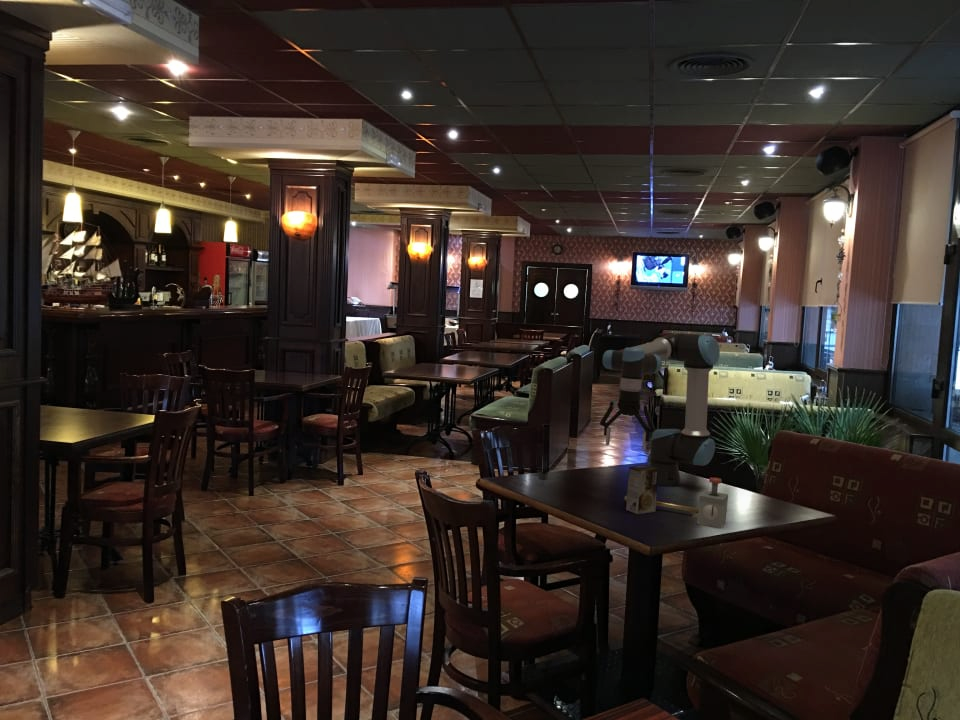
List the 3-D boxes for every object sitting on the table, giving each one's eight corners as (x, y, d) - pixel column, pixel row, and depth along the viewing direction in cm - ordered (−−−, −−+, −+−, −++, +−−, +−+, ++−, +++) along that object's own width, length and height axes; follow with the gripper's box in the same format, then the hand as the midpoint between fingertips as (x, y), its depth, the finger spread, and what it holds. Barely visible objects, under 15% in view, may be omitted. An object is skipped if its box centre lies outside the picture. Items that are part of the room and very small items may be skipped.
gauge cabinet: (702, 517, 271) (705, 490, 270) (725, 521, 268) (728, 494, 267) (696, 524, 262) (699, 496, 261) (720, 528, 258) (723, 500, 257)
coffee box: (643, 507, 280) (646, 464, 279) (655, 512, 275) (659, 468, 274) (625, 509, 275) (628, 466, 274) (637, 514, 270) (641, 469, 269)
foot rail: (623, 504, 283) (623, 495, 283) (624, 502, 286) (625, 494, 285) (705, 518, 270) (705, 509, 270) (706, 517, 272) (707, 508, 272)
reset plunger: (709, 491, 267) (710, 476, 266) (721, 493, 265) (722, 478, 265) (707, 493, 263) (708, 478, 263) (719, 495, 261) (720, 480, 261)
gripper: (594, 387, 278) (589, 444, 279) (662, 394, 268) (657, 453, 269) (600, 385, 285) (595, 441, 286) (666, 393, 274) (661, 451, 276)
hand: (625, 447), depth 278 cm, fingers open, 13 cm apart
